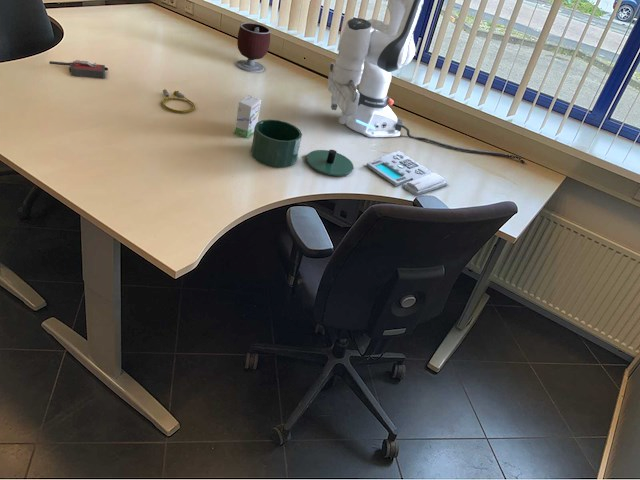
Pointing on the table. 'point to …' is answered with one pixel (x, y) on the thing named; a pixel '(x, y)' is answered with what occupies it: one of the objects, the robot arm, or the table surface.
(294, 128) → the tin
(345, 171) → the tin lid
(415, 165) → the office telephone
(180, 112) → the extension cord
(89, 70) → the walkie-talkie
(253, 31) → the mate gourd
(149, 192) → the table surface
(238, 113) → the ink box
